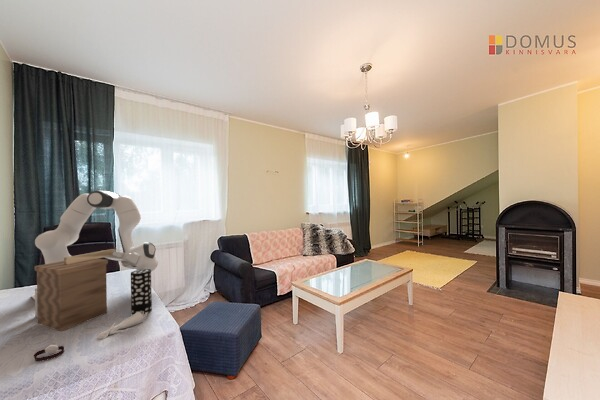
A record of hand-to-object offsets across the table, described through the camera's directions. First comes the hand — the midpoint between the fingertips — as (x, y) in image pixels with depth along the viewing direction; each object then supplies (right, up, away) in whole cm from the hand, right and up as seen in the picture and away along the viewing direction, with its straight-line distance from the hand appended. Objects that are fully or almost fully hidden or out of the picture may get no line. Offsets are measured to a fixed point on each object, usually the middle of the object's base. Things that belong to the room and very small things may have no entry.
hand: (107, 252), depth 123 cm
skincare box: (-22, -29, -10) cm, 37 cm away
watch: (+14, -28, -41) cm, 51 cm away
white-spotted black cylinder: (+24, -28, -8) cm, 38 cm away
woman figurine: (+26, -28, -23) cm, 45 cm away
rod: (-2, -2, -6) cm, 7 cm away
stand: (-5, -28, -13) cm, 31 cm away
